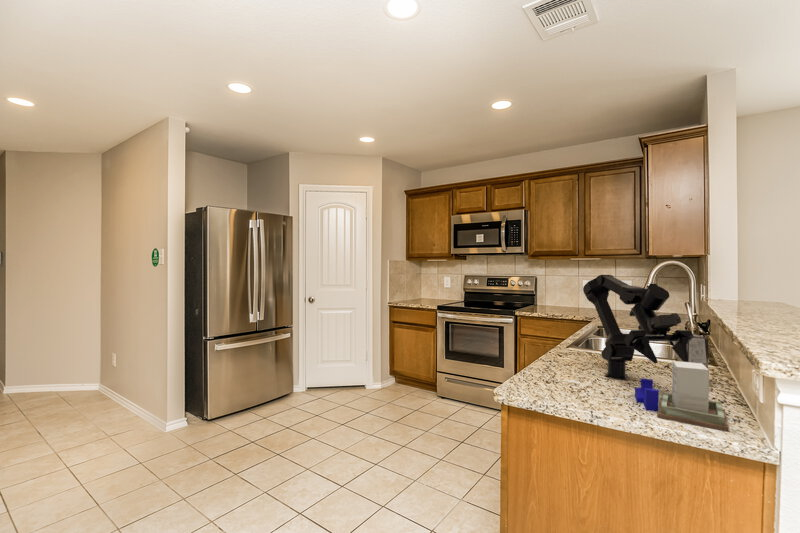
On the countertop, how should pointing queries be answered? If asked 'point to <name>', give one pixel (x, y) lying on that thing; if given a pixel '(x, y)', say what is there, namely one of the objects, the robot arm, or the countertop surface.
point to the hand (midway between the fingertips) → (671, 362)
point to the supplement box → (690, 386)
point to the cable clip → (647, 395)
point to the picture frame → (694, 414)
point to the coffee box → (697, 350)
